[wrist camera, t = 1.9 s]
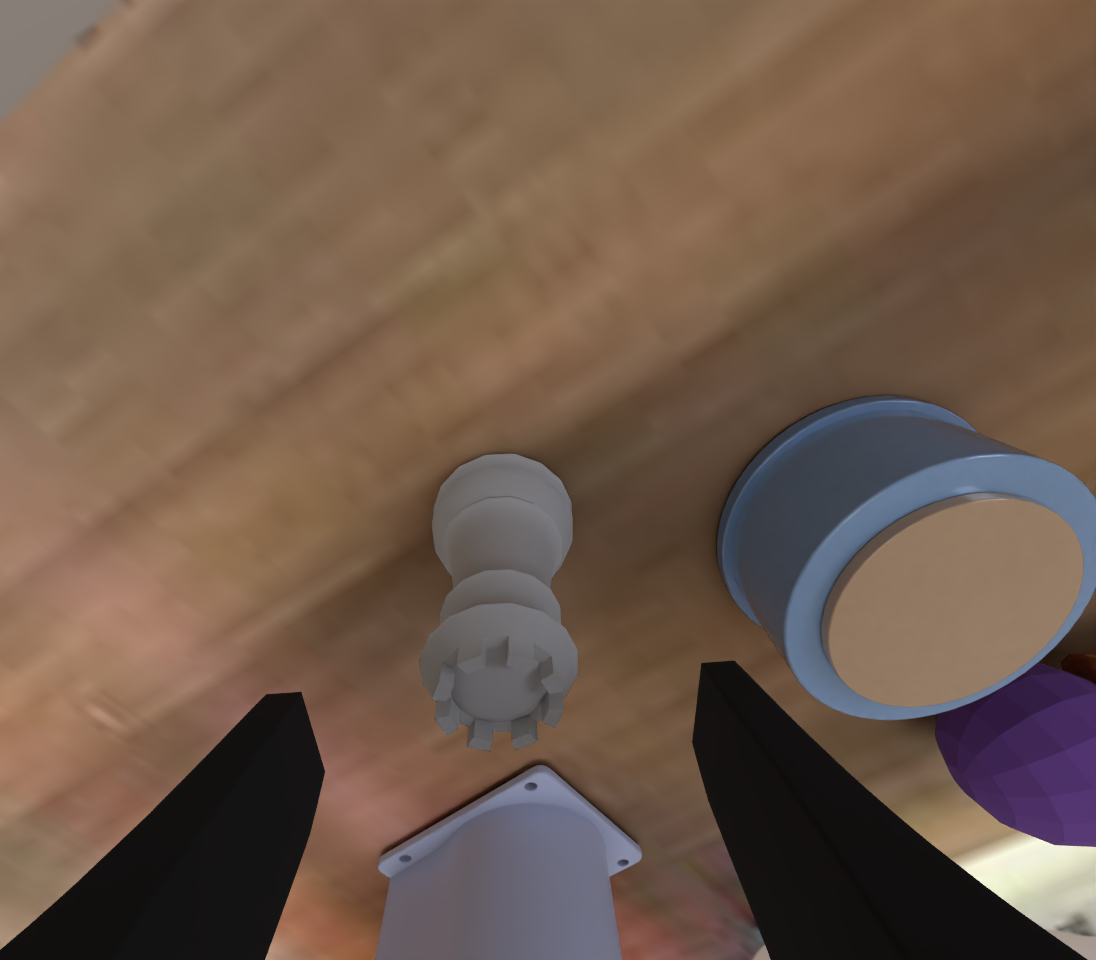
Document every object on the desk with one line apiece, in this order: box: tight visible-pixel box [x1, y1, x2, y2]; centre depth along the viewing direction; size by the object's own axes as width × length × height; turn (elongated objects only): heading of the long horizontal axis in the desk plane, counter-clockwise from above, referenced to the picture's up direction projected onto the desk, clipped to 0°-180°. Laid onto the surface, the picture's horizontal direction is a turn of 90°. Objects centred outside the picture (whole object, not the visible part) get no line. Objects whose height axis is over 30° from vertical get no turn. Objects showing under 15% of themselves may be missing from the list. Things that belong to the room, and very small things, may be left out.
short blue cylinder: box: [717, 395, 1096, 720], centre depth 16 cm, size 9×9×5 cm
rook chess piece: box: [419, 454, 578, 752], centre depth 14 cm, size 4×4×8 cm
